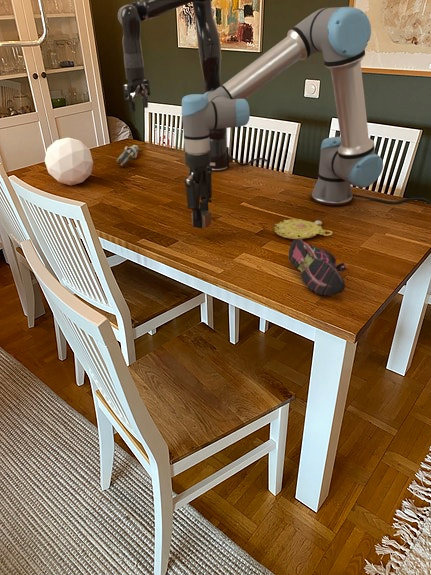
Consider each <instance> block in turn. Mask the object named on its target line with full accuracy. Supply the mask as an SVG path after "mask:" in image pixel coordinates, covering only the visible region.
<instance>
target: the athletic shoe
mask: <svg viewBox="0 0 431 575" xmlns="http://www.w3.org/2000/svg"><path fill="white" fill-rule="evenodd" d="M288 260H289V261H290V264H291V265H292V266H293V267H294V268H295V269H297V270H299V271H300V272H301V279H302V283H304V284H305V285H306V288H307V289H309V291H310V292H314V294H318V295H321V296H323V295H324V296H333V295H337V294H342V292H343V291H344V290H345V289H346V283H345V280H344V278H343V276H342V274H341V273H340V272H345V271H349V269H347V266H346V265H345V263H344V262H341V263H339V264H338V265H337V259H336V257H335V255H334V254H332V253H331V252H329V251H328V250H325V249H323V248H321V247H317V246H316V245H315V246H314V245H312V244H310V243H307V242H305V241H304V240H303V239H302V240H301V239H293V241H291V244H290V247H289V249H288Z"/></svg>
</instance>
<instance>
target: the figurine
mask: <svg viewBox="0 0 431 575" xmlns="http://www.w3.org/2000/svg"><path fill="white" fill-rule="evenodd" d="M139 148H140V146H139V145H138V144H133V145H130V146H125V147H124V151H122V153H121V154H119V157H118V158H117V159H116V162H115V163H117V164H119V163H120V162H121V163H120V165H119V166H120V167H124V165H126V163H128V162H129V161H130V160H131V159H132V158H133V159H136V158H137V157H138V153H139V151H140V149H139Z"/></svg>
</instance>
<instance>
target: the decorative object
mask: <svg viewBox="0 0 431 575" xmlns="http://www.w3.org/2000/svg"><path fill="white" fill-rule="evenodd" d="M322 225H323V221H321V220H314V222H313V221H310V220H304V219H303V218H292V219H283V221H279V223H274V227H273V229H274V233H276V234H277V236H279V237H282V238H284V239H285V238H286V239H290V240H295V239H300V240H302V241H303V240H305V239H310V238H313V237H315V236H317V235H319V236H320V235H321V236H325V237H329V236H331V235H333V231H332V230H325V229H323V227H322ZM326 233H327V234H326Z"/></svg>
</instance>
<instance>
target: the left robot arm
mask: <svg viewBox="0 0 431 575" xmlns="http://www.w3.org/2000/svg"><path fill="white" fill-rule="evenodd" d="M188 4H192V8H193V13H194V20H195V31H196V32H195V33H196V39H197V50H198V57H199V63H200V68H201V73H202V77H203V78H202V79H203V90H204V92H203V95H204V94H205V93H206V92H209V91H215V90H216V89H217V88H219V87H220V86H222V85H223V84H222V79H221V70H222V45H221V38H220V34H219V30H218V27H217V25H216V22H215V19H214V15H213V7H212V0H136V1H133V2H130V3H127V4H125V5H123V6H121V7H120V8H119V9H118V12H117V19H118V20H117V21H118V22H119V23H120V25H121V26H122V50H123V63H124V72H125V79H126V80H127V81H128V83H124V84H123V85H122V87H123V96H124V97H123V99H124V102H125V101H126V102H128V107H129V111H130V112H131V113H135V112H136V111H137V110H136V102H135V100H136V97H137V96H138V95H140V97H141V103H142V108H143V109H147V108H149V101H148V98H149V96H151V87H150V81H149V79H146V71H145V62H144V56H143V49H142V40H141V34H142V33H141V30H142V29H141V28H142V22H144V21H148V20H153V19H155V18H158V17H160V16H163V15H165V14H167V13H169V12H172V11H174V10H176V9H178V8H181V7H183V6H186V5H188ZM209 135H210V136H209V138H210V150H209V152H210V162H211V163H210V165H209V166H207V167H212V172H223V171H226V170H227V169H229V168H230V164H232V163H233V161H234V162H236V164H237V165H238V166H248V165H251V163H252V162H256V161H261V160H262V161H264V162H265V163H266V162H269V160H268V159H267V158H265V157H256V158H253V159H251V160H249V161H248V162H243V163H242V162H240V161H239V160H238V159H236V158H234V157H233V155H231V154H230V148H229V146H228V128H221V129H211V130H209Z"/></svg>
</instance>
